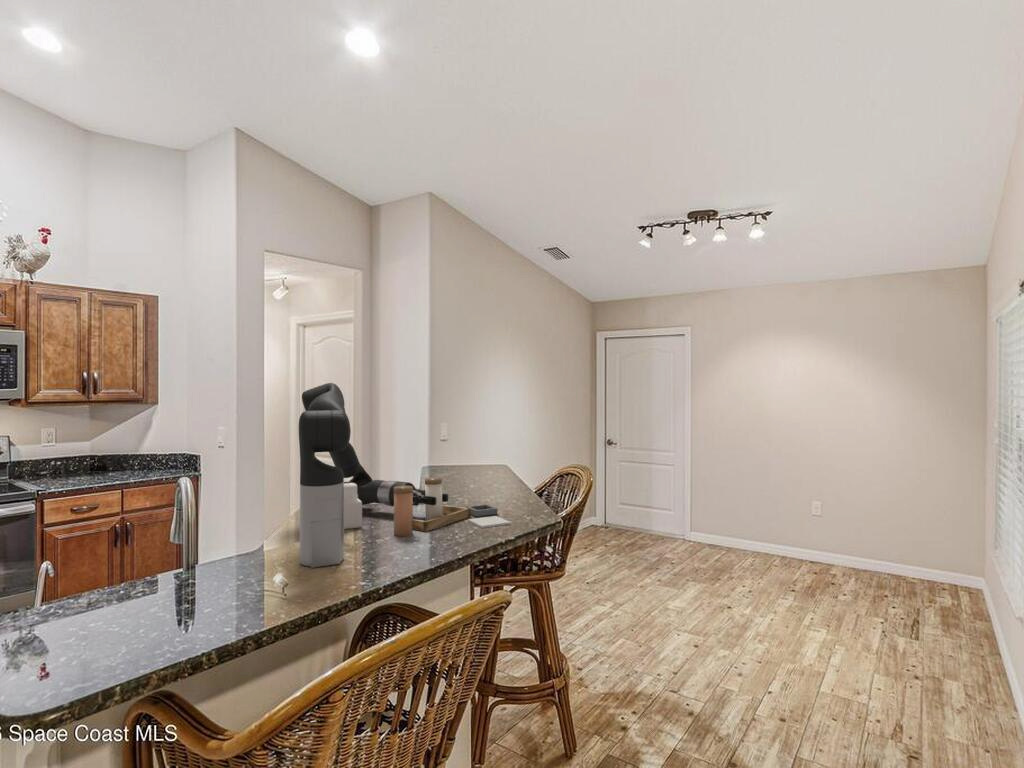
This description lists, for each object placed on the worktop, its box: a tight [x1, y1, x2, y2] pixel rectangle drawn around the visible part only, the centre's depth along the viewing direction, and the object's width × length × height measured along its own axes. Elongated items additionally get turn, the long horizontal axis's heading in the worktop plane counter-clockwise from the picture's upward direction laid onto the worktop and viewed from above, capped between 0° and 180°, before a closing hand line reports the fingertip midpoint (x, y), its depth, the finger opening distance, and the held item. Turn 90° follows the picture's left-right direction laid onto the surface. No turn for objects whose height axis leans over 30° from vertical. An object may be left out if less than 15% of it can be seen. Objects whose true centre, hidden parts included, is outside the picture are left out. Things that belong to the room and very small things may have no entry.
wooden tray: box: [413, 504, 471, 532], centre depth 164 cm, size 10×20×2 cm, turn 149°
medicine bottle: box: [343, 481, 363, 530], centre depth 160 cm, size 7×7×12 cm
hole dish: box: [465, 503, 498, 518], centre depth 174 cm, size 7×7×2 cm
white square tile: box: [467, 515, 512, 529], centre depth 163 cm, size 9×9×1 cm
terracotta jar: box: [393, 486, 414, 537], centre depth 151 cm, size 5×5×12 cm
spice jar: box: [424, 476, 444, 521], centre depth 165 cm, size 5×5×12 cm
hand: (441, 499), depth 163 cm, fingers closed on spice jar, 4 cm apart
